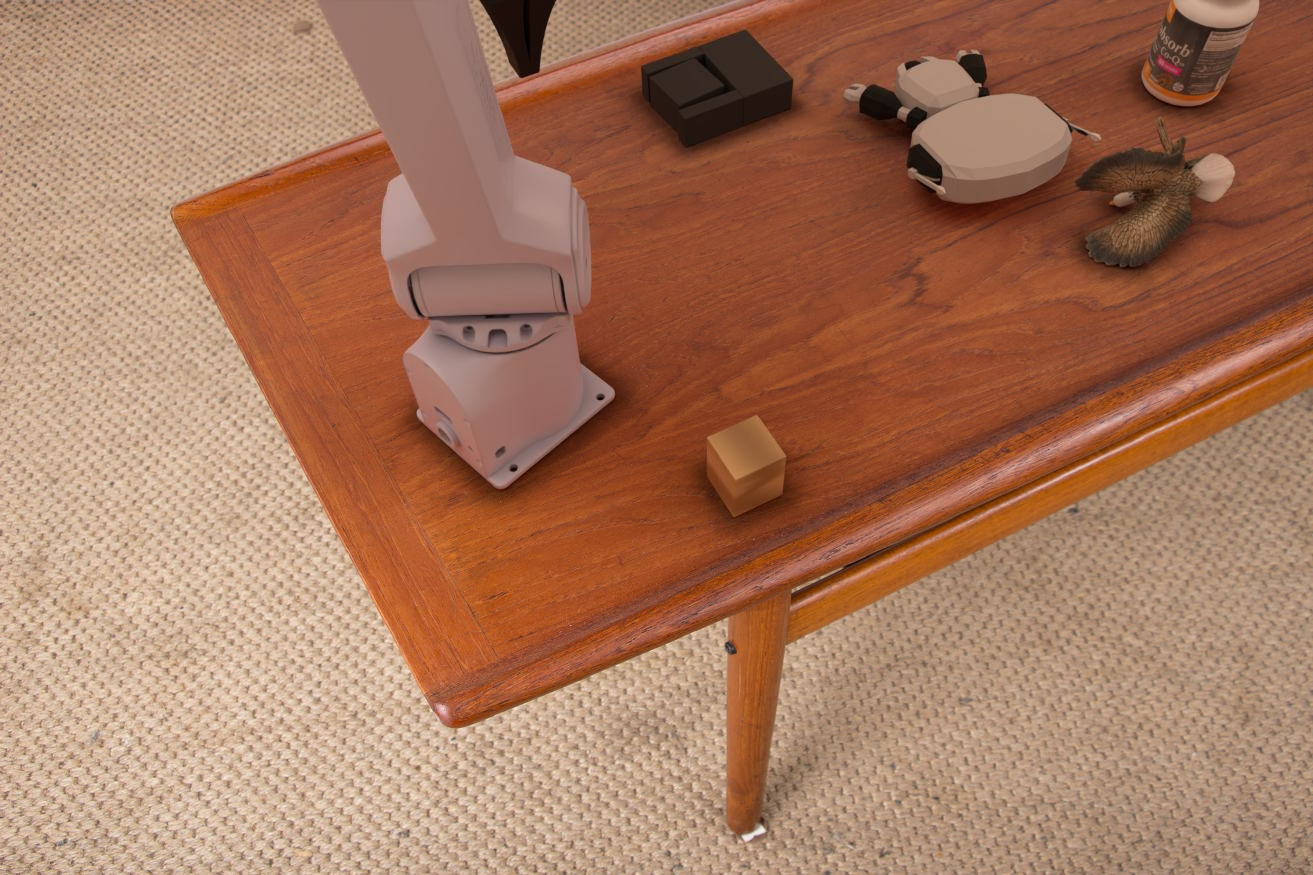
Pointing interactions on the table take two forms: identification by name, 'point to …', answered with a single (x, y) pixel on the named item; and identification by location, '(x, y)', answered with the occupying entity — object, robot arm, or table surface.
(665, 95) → the small pad
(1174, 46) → the pill bottle
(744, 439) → the cube
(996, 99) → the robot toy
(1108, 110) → the table surface
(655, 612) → the table surface
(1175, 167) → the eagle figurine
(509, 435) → the robot arm
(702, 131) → the base pad
